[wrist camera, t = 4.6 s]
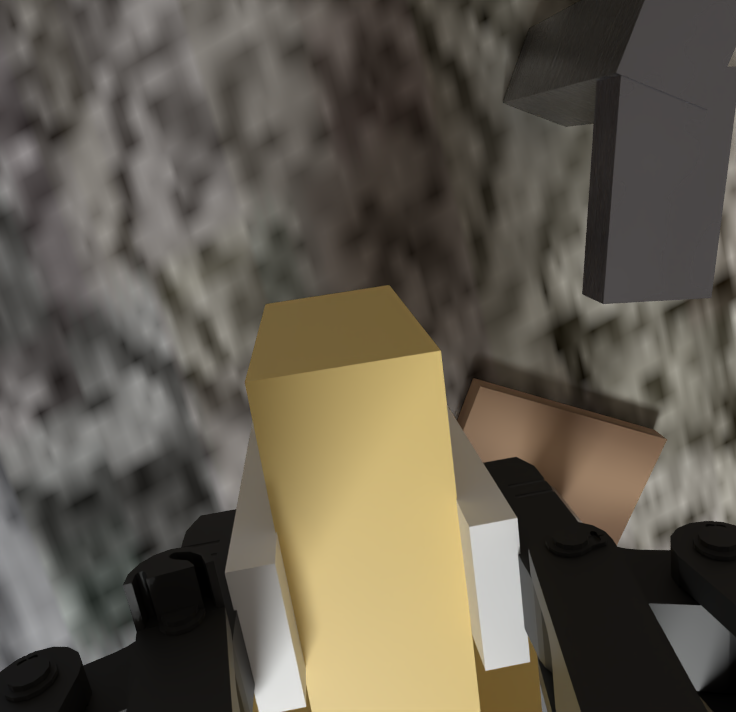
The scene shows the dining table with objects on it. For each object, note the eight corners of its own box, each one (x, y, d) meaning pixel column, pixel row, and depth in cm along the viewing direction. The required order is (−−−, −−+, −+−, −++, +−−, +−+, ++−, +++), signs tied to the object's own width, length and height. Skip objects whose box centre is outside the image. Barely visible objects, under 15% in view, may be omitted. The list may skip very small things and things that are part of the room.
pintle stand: (473, 377, 31) (539, 457, 23) (653, 429, 33) (774, 519, 25) (405, 555, 33) (442, 685, 25) (576, 593, 35) (663, 725, 27)
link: (553, 839, 21) (647, 1088, 15) (279, 896, 21) (272, 1176, 15) (510, 266, 16) (630, 319, 10) (139, 323, 15) (41, 415, 10)
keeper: (529, 28, 27) (662, -45, 17) (648, 77, 28) (835, 34, 18) (453, 240, 29) (534, 281, 19) (566, 278, 30) (695, 334, 20)
